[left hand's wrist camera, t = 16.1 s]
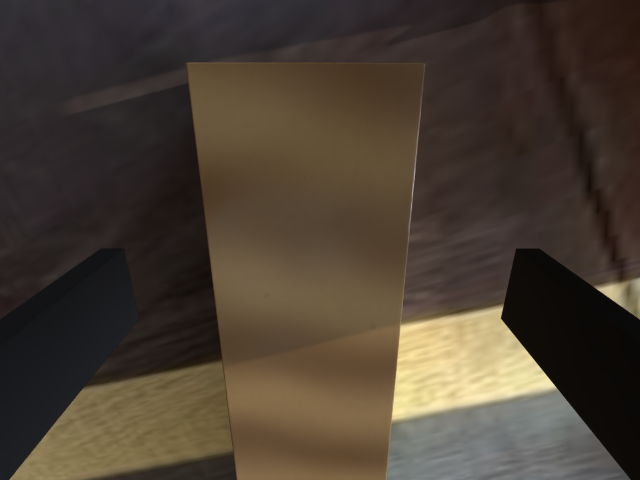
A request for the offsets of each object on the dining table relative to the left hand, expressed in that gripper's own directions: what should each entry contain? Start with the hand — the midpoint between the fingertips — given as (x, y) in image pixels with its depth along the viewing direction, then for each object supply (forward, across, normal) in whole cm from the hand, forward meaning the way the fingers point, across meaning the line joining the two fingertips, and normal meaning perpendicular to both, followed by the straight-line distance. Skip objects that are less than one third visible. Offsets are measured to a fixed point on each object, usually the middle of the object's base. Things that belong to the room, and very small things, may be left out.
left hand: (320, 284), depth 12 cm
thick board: (+11, -1, -34) cm, 35 cm away
